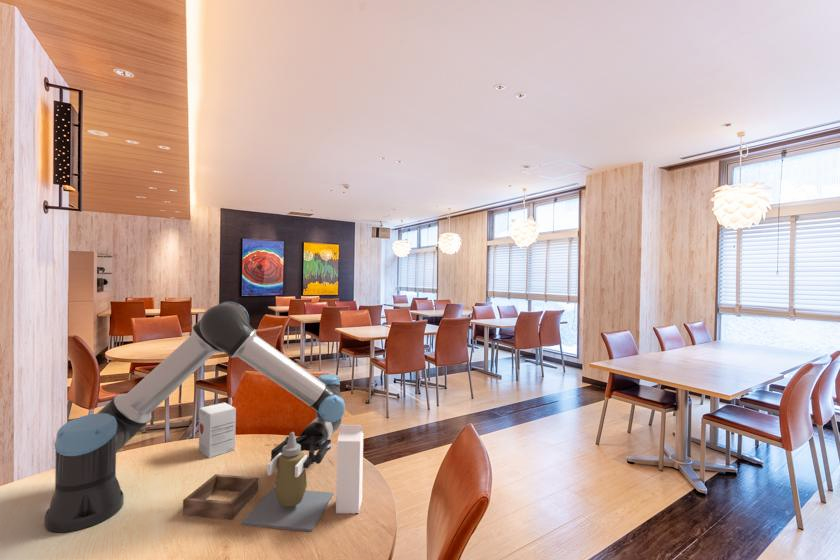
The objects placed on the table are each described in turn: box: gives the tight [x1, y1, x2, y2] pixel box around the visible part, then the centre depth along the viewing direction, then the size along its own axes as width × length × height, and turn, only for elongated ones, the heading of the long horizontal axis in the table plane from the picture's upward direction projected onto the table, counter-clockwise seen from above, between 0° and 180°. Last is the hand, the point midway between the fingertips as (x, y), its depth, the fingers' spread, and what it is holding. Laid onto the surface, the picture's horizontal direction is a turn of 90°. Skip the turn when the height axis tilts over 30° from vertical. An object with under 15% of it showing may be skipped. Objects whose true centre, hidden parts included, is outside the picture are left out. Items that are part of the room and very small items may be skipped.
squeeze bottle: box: [274, 431, 308, 507], centre depth 102 cm, size 8×8×18 cm
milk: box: [335, 423, 364, 514], centre depth 103 cm, size 6×6×22 cm
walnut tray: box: [182, 473, 259, 521], centre depth 104 cm, size 13×13×4 cm
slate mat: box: [240, 487, 335, 532], centre depth 102 cm, size 18×16×1 cm
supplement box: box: [198, 401, 237, 459], centre depth 135 cm, size 9×9×15 cm
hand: (282, 470), depth 97 cm, fingers closed on squeeze bottle, 6 cm apart
